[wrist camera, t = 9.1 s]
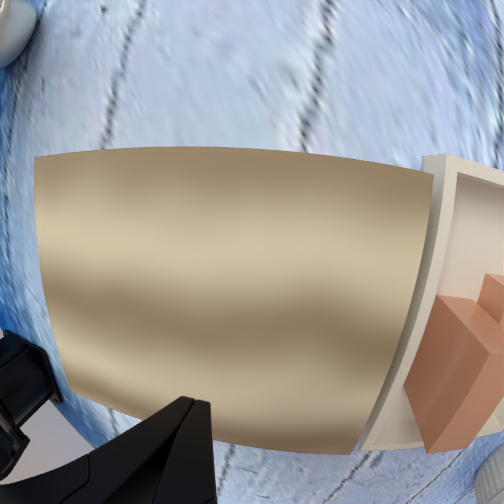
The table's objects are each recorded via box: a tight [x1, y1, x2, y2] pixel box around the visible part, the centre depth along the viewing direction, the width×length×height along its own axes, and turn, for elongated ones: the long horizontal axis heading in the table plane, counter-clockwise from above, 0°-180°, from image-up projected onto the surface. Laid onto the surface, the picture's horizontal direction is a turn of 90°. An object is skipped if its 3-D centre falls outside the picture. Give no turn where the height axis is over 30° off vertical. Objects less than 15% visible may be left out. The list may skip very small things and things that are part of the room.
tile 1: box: [403, 294, 504, 454], centre depth 10 cm, size 6×6×2 cm
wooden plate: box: [34, 147, 434, 455], centre depth 13 cm, size 14×17×4 cm
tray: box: [358, 154, 504, 451], centre depth 11 cm, size 16×12×2 cm
